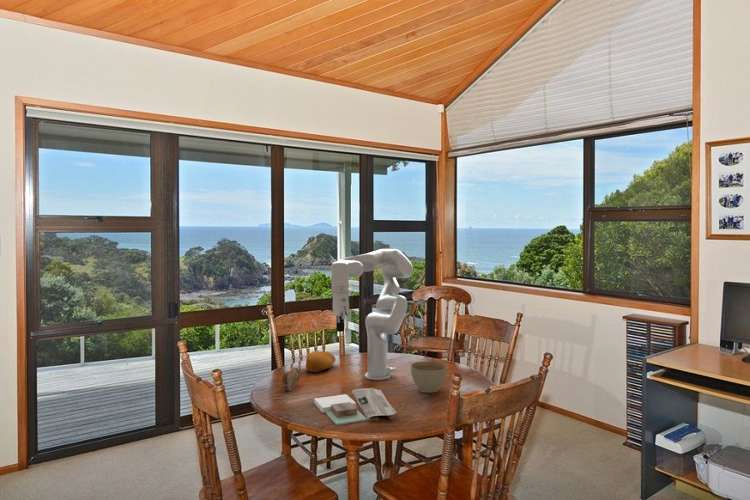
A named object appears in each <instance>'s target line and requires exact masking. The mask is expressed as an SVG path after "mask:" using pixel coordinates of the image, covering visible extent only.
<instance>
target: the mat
mask: <svg viewBox="0 0 750 500" xmlns="http://www.w3.org/2000/svg"><path fill="white" fill-rule="evenodd" d="M325 415H327V417H328V418H329V419H330V420H331V421H332V422H333V424H334V425H336V426H340V425H346V424H352V423H358V422H367V421H368V420H367V418H366V417H365V415H364V414H362V413H361V412H360V411H359V410H358V409H357V415H351V416H345V417H338V418H337V417H336V416H335V415H334V414H333V413H332V411H331V410H330V411H325Z"/></svg>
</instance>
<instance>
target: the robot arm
mask: <svg viewBox="0 0 750 500" xmlns="http://www.w3.org/2000/svg"><path fill="white" fill-rule="evenodd" d="M330 267H331V268H330V269H331V274H330V275H331V294H332V313H333V314H334V316H335V322H336V325H335V326H336V328H335V329H336V330H335V331H336V332H337V333H338V332H339V333H341V332H345V321H346V316H347V317H349V316H350V300H349V290H350V289H349V288H350V287H349V278H359V277H361V276H362V275H363V273H364V272H366V273H367V272H372V271H375V270H377V269H380V268H381V274H382V278H383V287H382V289H381V291H380V294H379V297H378V298H377V301H376V304H375V308H376V310H377V311H378V312H377V311H376V312H373V311H372V312H370V313H369V314H368V315H366V317H365V320H364V321H365V322H364V323H365V328H366V333H367V335H366V336H367V372H366V373H364V378H365V379H367V380H372V381H384V380H388V379H390V378H391V373H393V372H394V373H395V372H397V368H396V367H389V366H388V340H387V337H386V334H390V335H394V334H397V333H398V331H399V330H400V327H401V326H402V323H403V321H404V318H405V316H406V314H407V310H408V301H407V298H406V297H405V296H403V295H399V293H400V290H401V289H400V288H401V287H400V284H399V283H398V281H397V278H399V279H408V278H410V277H412V275H413V273H414V268H413V264H412V262H411V261H410V260H409V259H408V258H407V257H406V255H405V254H404V253H402V252H401V251H400V250H399V249H397V248H380V249H377V250H374V251H371V252H370V251H369V252H368V253H363V254H359V255H353V256H348V257H344V258H341V259H338V260H337V261H334V262H332V263H331V266H330Z"/></svg>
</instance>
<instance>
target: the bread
mask: <svg viewBox="0 0 750 500" xmlns="http://www.w3.org/2000/svg"><path fill="white" fill-rule="evenodd" d="M335 362H336V357H335V356H334V354H332V352H329V351H321V350H314V351H312V352H309V353H307V354H306V363H305V368H306V370H307V371H308V372H311V373H318V372H322V371H324V370H327V369H330V368H331V367H332V366H333V365H334V364H335Z"/></svg>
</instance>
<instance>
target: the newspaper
mask: <svg viewBox="0 0 750 500" xmlns="http://www.w3.org/2000/svg"><path fill="white" fill-rule="evenodd" d="M351 392H352V395H353V397H354V399H355V400H356V402H357V404H358V406H359V408H360V410H361V411H362V413H363V416H364V417H365V418H367V420H366V421H368V422H371V421H379V420H380V419H379V417H378V416H387V417H388V418H389V419H390V420H393V419H394V418H395V414H397V411H396V410H395V408H394V407H393V406H392V405H391V403H389V401H388V400H387V398H386V396H385V395H384V393H383V391H382V390H381V389H376V388H374V387H370V388H367V387H366V388H357V389H353V390H352V391H351Z"/></svg>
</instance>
